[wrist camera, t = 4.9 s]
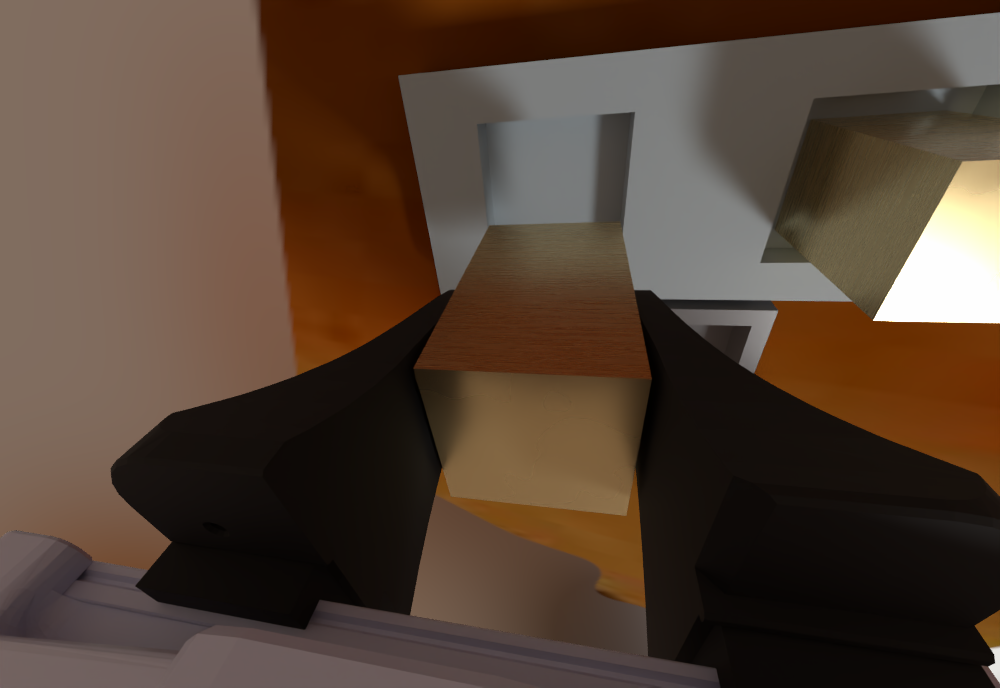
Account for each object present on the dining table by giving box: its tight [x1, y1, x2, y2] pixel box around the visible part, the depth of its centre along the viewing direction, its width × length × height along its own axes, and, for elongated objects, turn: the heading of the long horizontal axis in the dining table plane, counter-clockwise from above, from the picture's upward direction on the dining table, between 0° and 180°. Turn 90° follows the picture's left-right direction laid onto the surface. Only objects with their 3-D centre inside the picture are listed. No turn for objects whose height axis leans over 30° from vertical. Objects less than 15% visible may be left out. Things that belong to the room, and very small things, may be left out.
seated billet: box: [774, 110, 1000, 323], centre depth 12 cm, size 4×4×7 cm
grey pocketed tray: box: [398, 12, 1000, 301], centre depth 15 cm, size 9×22×2 cm, turn 95°
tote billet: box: [413, 221, 652, 516], centre depth 10 cm, size 4×4×7 cm
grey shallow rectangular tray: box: [661, 299, 778, 373], centre depth 22 cm, size 10×14×2 cm
